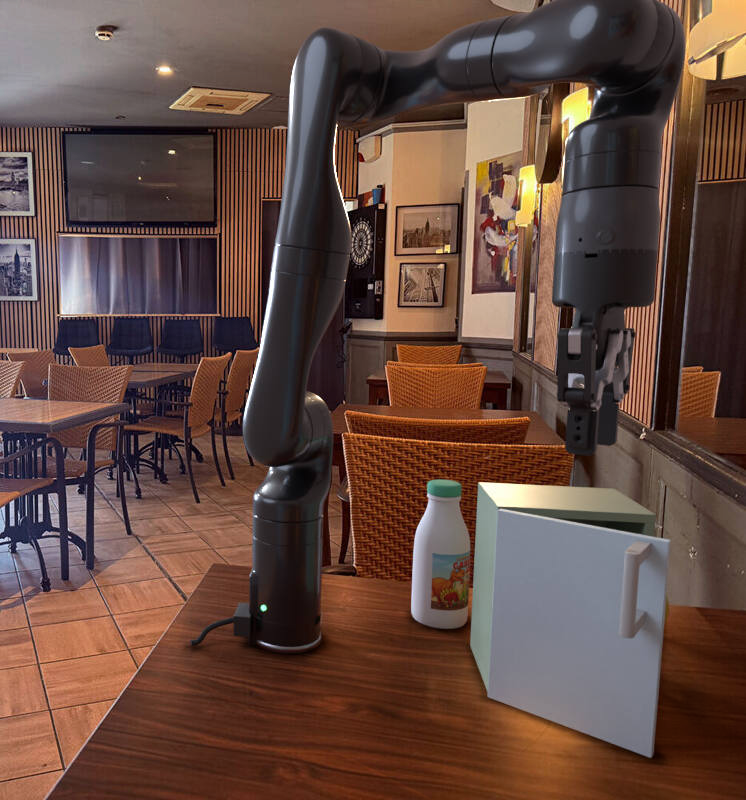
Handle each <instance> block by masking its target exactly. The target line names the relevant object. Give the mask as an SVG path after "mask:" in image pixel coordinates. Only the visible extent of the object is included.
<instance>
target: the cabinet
mask: <svg viewBox="0 0 746 800" xmlns="http://www.w3.org/2000/svg"><path fill="white" fill-rule="evenodd" d="M499 509H506V510H511V511H516V512H522V513H527V514H533V515H538V516H543V517H549V518H554V519H560V520H565V521H570V522H576V523H581V524H587V525H592V526H598V527H603V528H608V529H614V530H619V531H625V532H630V533H635V534H641V535H646V536H652V537H656V536H655V535H656V521H657V514H656V513H654V512H653V511H651V510H649V509H648V508H646V507H644V506H643V505H641V504H640V503H638V502H636V501H635V500H633V499H632V498H630V497H628V496H627V495H626V494H624V493H622V492H620V491H619V490H617V489H616V488H607V487H606V488H605V487H584V486H566V485H564V486H562V485H547V484H546V485H545V484H543V485H541V484H522V483H505V482H503V483H502V482H501V483H500V482H483V481H482V482H477V501H476V519H475V537H474V538H475V542H474V561H473V579H472V581H473V582H472V602H471V620H470V621H471V623H470V641H469V646H470V649H471V652H472V654H473V657H474V659H475V660H474V661H475V662H476V665H477V668H478V670H479V674H480V676H481V679H482V681H483V684H484V687H485V689H486V692H487V693H488V680H489V661H490V642H491V623H492V604H493V585H494V567H495V548H496V529H497V511H498V510H499Z"/></svg>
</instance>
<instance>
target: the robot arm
mask: <svg viewBox="0 0 746 800" xmlns="http://www.w3.org/2000/svg"><path fill="white" fill-rule="evenodd" d="M685 58H686V35H685V29H684V24H683V22H682V19H681V17H680V16H679V14H678V13H677V12H676V10H675V9H673V8H672V7H670V6H669V5H667V4H665V3H664V2H662V1H660V0H551V1H549V2H547V3H544V4H541V6H539V7H537V8H535V9H533V10H532V11H528V12H520V13H515V14H510V15H505V16H500V17H499V16H498V17H494V18H490V19H485V20H481V21H476V22H472V23H470V24H467V25H464V26H462V27H459V28H457V29H455V30H453V31H451V32H450V33H447V34H446V35H444V37H443V38H441V39H439V41H437V42H435V44H433V45H432V46H429V47H427V48H425V49H420V50H414V51H413V50H412V51H399V50H388V49H383V48H380V47H379V46H377V45H376V44H375V43H373V42H370V41H367V40H365V39H362V38H360V37H357V36H355V35H353V34H350V33H348V32H345V31H343V30H339V29H337V28H333V27H327V26H324V27H319V28H317V29H314V30H313V31H312V32H311V33H309V35H307V37H305V40H304V41H303V42H302V44H301V45H300V48H299V50H298V52H297V55H296V57H295V61H294V64H293V68H292V74H291V78H290V86H289V96H288V114H287V131H286V137H287V138H286V154H285V166H284V167H285V169H284V177H283V186H282V193H281V201H280V210H279V217H278V224H277V230H276V233H275V234H276V235H275V240H274V246H273V252H272V253H273V254H272V259H271V267H270V275H269V285H268V294H267V300H266V307H265V313H264V317H263V318H264V319H263V324H262V330H261V338H260V343H259V344H260V345H259V350H258V355H257V359H256V363H255V368H254V372H253V375H252V378H251V379H252V380H251V383H250V388H249V391H248V394H247V395H248V396H247V399H246V403H245V407H244V412H243V418H242V439H243V443H244V446H245V449H246V451H247V453H248V455H249V456H250V457H251V459H253V461H255V463H257V464H258V465H260V466H262V467H266V468H269V469H268V472H267V474H266V476H265V478H264V479H263V481H262V482H261V484H260V485H259V486H258V487H257V488H256V489H255V491H254V492H253V496H252V543H251V544H252V545H251V546H252V547H251V548H252V549H251V552H252V553H251V570H250V573H249V576H248V577H249V578H248V602H238V604H237V607H236V609H235V612H234V614H233V616H231V617H227V618H224V619H220V620H217V621H215V622H213V623H211V624H209V625H207V626H206V627H204V629H203V630H202V631H201V632H200V634H199V635H198V637H197V638H195V639H190V646H191V647H196V646H198V645H201V643H202V642H203V641H204V639H205V638H206V636H207V635H208V634H209V633H211V631H213V630H215V629H217V628H220V627H223V626H226V625H230V624H233V628H232V629H233V636H234V637H243V638H248V640H247V641H248V645H249V646H256V647H258V648H261V649H262V650H265V651H267V652H271V653H276V654H282V655H283V654H284V655H296V654H304V653H307V652H310V651H312V650H313V651H314V650H315V649H316V648H318V647H319V646H320V645H321V642H322V631H321V630H322V620H323V613H324V612H323V611H324V609H323V608H322V589H323V588H322V585H323V584H322V583H323V582H322V581H323V579H322V578H323V542H324V541H323V540H324V539H323V538H324V507H325V501H326V499H327V497H328V495H329V493H330V492H329V491H330V489H331V488H330V487H331V479H332V465H333V451H334V425H333V419H332V414H331V412H330V409H329V407H328V405H327V403H326V401H324V400H323V399H322V398H321V397H320V396H319V395H317V394H315V393H313V392H311V391H308V390H307V387H308V382H309V374H310V371H311V367H312V366H311V365H312V362H313V359H314V356H315V354H316V351H317V349H318V346H319V345H320V343H321V340H322V339H323V337H324V335H325V333H326V332H327V330H328V328H329V326H330V324H331V322H332V320H333V318H334V317H335V314H336V312H337V310H338V308H339V305H340V303H341V300H342V298H343V294H344V291H345V286H346V283H347V282H346V280H347V275H348V270H349V264H350V257H351V256H350V254H351V252H352V240H353V239H352V230H351V229H352V228H351V224H350V220H349V216H348V213H347V212H348V211H347V209H346V205H345V202H344V199H343V195H342V192H341V188H340V184H339V182H338V177H337V172H336V165H335V148H336V147H335V145H336V139H337V138H336V137H337V129H338V128H337V127H338V125H340V126H345V127H351V128H352V127H353V128H354V127H356V128H357V127H363V126H368V125H371V124H375V123H379V122H381V121H384V120H387V119H390V118H394V117H397V116H400V115H404V114H408V113H411V112H416V111H420V110H424V109H429V108H434V107H440V106H446V105H447V106H449V105H455V104H456V105H457V104H467V103H468V104H469V103H478V102H479V103H480V102H481V103H482V102H491V101H493V102H494V101H503V100H515V99H522V98H528V97H532V96H536V95H538V94H540V93H543V92H544V91H545V90H547V89H549V87H551V85H553V84H555V85H556V84H566V83H567V84H570V83H571V84H583V85H586V86H588V87H591V88H593V91H594V92H593V100H592V104H591V105H592V106H591V110H590V114H589V118H588V119H586V120H584V121H582V122H580V123H579V124H577V125H575V126H574V127H573V128H572V129H571V130H570V132H569V133H568V135H567V138H566V140H565V145H564V152H563V164H562V165H563V166H562V182H561V197H560V205H559V210H558V215H557V220H556V225H555V226H556V229H555V241H554V244H555V245H554V258H553V276H552V292H551V304H552V305H553V306H554V307H555V308H561V309H562V308H563V309H564V308H567V309H575V313H574V316H573V320H572V321H573V322H572V325H571V328H559V330H558V332H557V336H556V338H557V392H556V398H557V401H558V402H559V403H563V406H564V408H565V409H567V412H566V413H567V414H566V429H565V442H564V443H565V444H564V448H565V451H566V453H567V454H571V455H579V456H586V457H589V456H592V455H594V454H596V452H597V451H598V446H606V447H610V446H614V445H615V444H616V443H617V441H618V430H619V417H620V416H619V415H620V404H622V403H623V400H624V399H625V395H628V394H629V391H630V389H631V386H630V380H631V371H632V362H633V356H634V355H633V354H634V345H635V338H636V336H637V332H636V330H635V327H626V315H625V311H626V310H627V309H630V308H646V307H650V306H651V305H652V304H653V303H654V301H655V296H656V295H655V294H656V281H657V268H658V256H659V244H660V243H659V242H660V229H661V209H660V191H659V189H660V183H661V168H662V154H663V152H662V151H663V150H662V149H663V135H664V131H665V128H666V126H667V123H668V120H669V118H670V116H671V112H672V109H673V105H674V103H675V98H676V96H677V93H678V92H677V91H678V88H679V84H680V82H681V78H682V74H683V70H684V66H685ZM580 384H583V387H578V386H579V385H580Z"/></svg>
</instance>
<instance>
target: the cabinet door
mask: <svg viewBox="0 0 746 800" xmlns="http://www.w3.org/2000/svg"><path fill="white" fill-rule="evenodd" d="M671 545H672V540H671V539H667V538H663V537H657V536H654V537H652V536H646V535H641V534H635V533H630V532H625V531H619V530H614V529H608V528H603V527H598V526H592V525H587V524H581V523H576V522H570V521H565V520H560V519H554V518H549V517H543V516H538V515H533V514H527V513H522V512H516V511H511V510H506V509H499V510H498V511H497V529H496V548H495V567H494V585H493V604H492V623H491V642H490V661H489V680H488V692H487V698H489V699H490V700H494V701H497V702H499V703H502V704H505V705H507V706H510V707H513V708H515V709H518V710H520V711H523V712H526V713H528V714H531V715H534V716H536V717H540V718H541V719H545V720H547V721H550V722H553V723H556V724H558V725H560V726H564V727H567V728H569V729H572V730H574V731H577V732H579V733H583V734H585V735H588V736H590V737H593V738H595V739H599V740H601V741H604V742H607V743H609V744H612V745H615V746H618V747H620V748H623V749H625V750H628V751H630V752H633V753H635V754H638V755H641V756H643V757H646V758H648V759H649V758H650V759H652V758H653V756H654V752H655V740H656V729H657V719H658V718H657V715H658V704H659V693H660V692H659V691H660V680H661V668H662V667H661V666H662V655H663V645H664V644H663V643H664V630H665V623H664V620H665V608H666V595H667V594H668V583H669V581H668V580H669V570H670V559H671V558H670V557H671V547H672V546H671ZM667 596H668V595H667Z"/></svg>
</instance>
